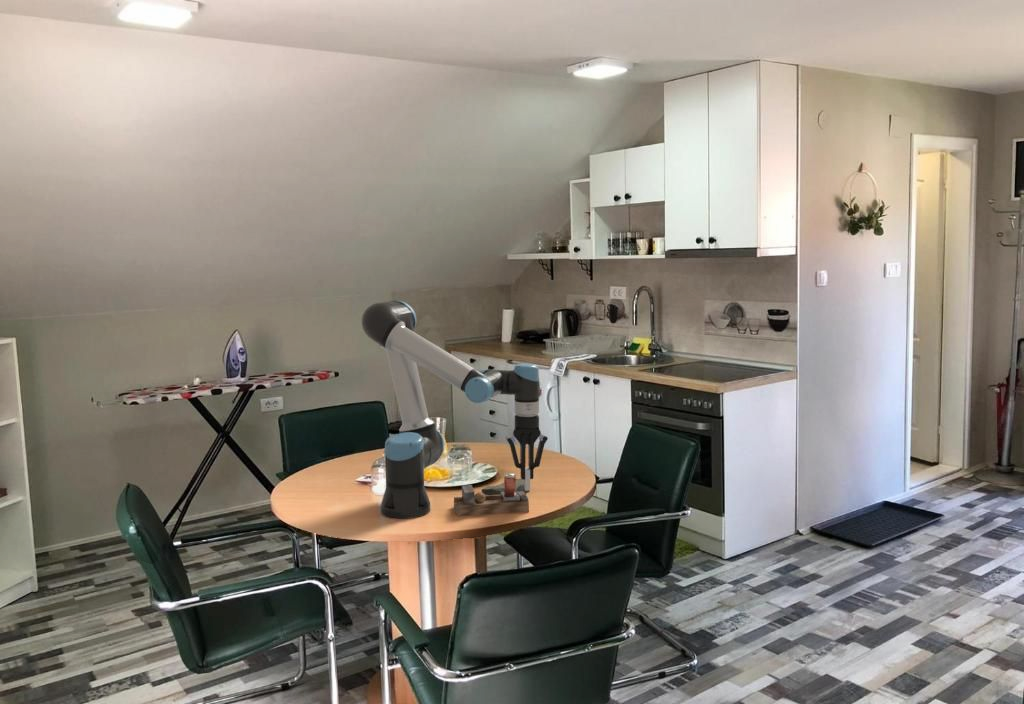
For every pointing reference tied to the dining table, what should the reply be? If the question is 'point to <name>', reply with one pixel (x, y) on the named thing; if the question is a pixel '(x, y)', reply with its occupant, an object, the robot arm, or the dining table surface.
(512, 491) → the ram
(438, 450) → the robot arm
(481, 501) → the nut
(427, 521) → the dining table surface
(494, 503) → the board
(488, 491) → the rock
